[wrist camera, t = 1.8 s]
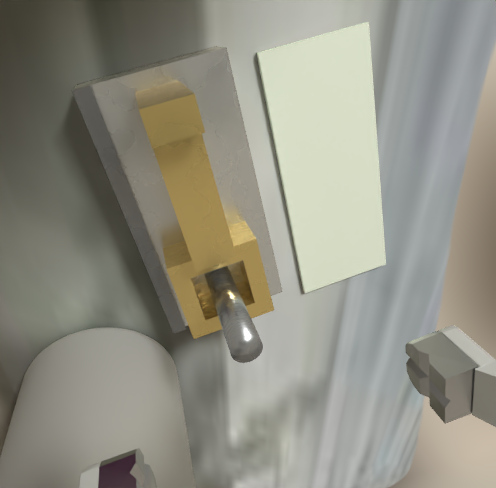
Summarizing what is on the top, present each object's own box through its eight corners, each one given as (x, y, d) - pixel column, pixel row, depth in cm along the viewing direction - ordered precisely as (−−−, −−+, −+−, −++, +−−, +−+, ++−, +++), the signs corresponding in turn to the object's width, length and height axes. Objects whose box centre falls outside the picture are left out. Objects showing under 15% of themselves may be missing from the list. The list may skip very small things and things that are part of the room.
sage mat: (256, 52, 27) (257, 53, 27) (365, 22, 28) (368, 22, 28) (303, 290, 37) (305, 293, 37) (383, 262, 38) (386, 264, 38)
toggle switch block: (77, 84, 26) (46, 118, 15) (216, 46, 27) (275, 53, 16) (169, 308, 34) (189, 426, 24) (270, 273, 36) (331, 370, 25)
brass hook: (105, 100, 24) (100, 120, 18) (206, 72, 24) (230, 83, 19) (188, 314, 32) (201, 372, 26) (262, 288, 32) (290, 339, 27)
